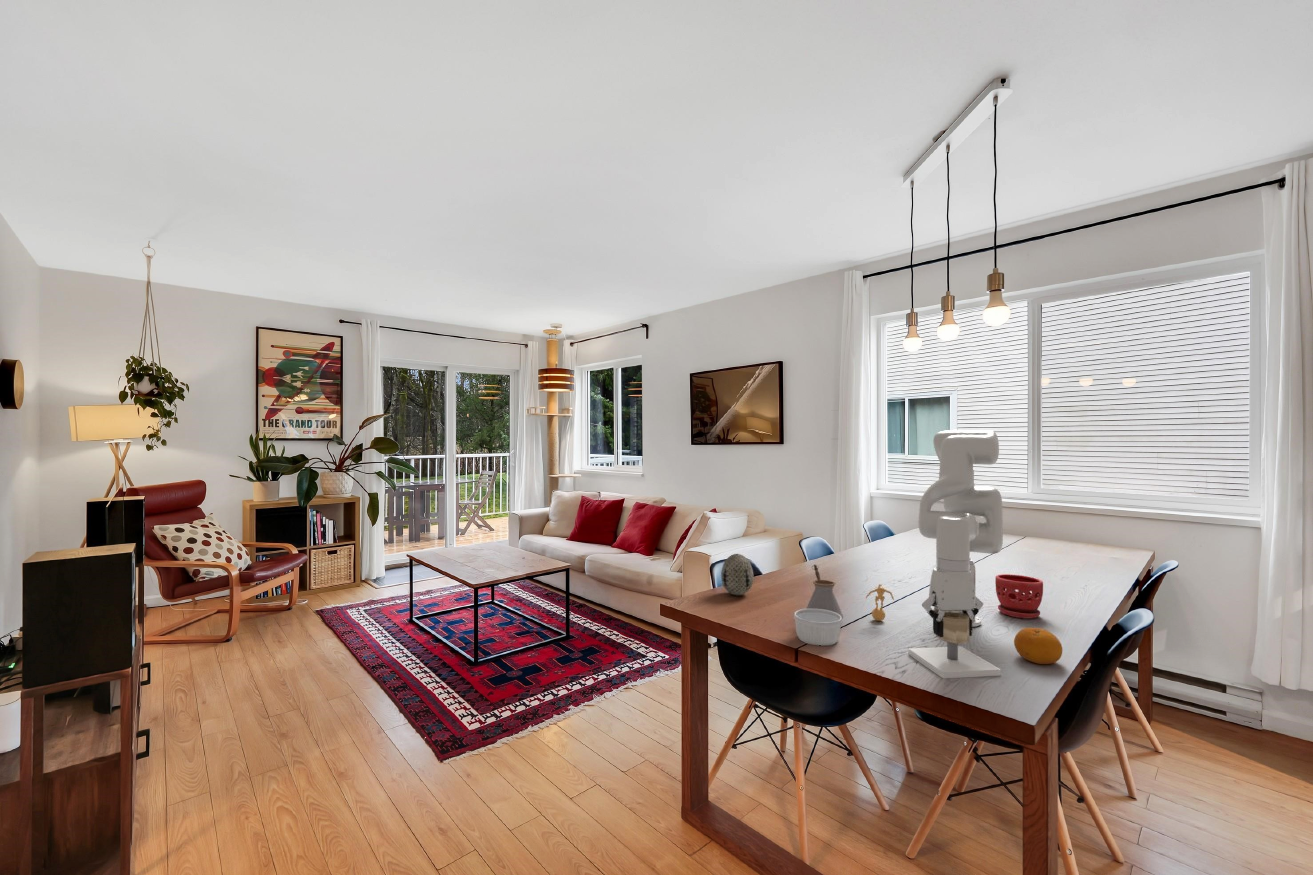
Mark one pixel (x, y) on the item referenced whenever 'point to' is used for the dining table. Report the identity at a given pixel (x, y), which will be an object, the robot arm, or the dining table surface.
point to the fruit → (1038, 645)
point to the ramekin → (818, 626)
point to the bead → (955, 627)
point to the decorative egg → (737, 574)
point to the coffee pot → (823, 595)
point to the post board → (953, 662)
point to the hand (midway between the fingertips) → (952, 634)
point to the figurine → (878, 612)
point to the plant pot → (1019, 595)
